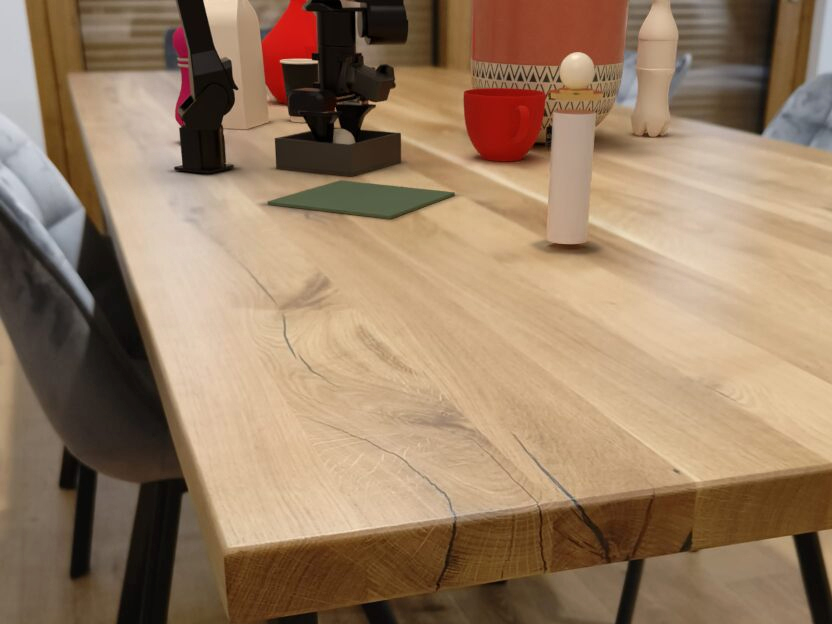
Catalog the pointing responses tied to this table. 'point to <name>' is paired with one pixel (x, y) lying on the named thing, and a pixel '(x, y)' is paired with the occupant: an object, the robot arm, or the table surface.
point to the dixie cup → (298, 79)
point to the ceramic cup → (503, 121)
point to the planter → (548, 48)
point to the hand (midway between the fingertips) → (339, 155)
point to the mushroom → (343, 136)
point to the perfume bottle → (571, 154)
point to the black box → (338, 153)
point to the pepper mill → (182, 51)
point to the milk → (240, 59)
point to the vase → (288, 45)
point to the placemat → (362, 199)
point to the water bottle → (655, 70)
